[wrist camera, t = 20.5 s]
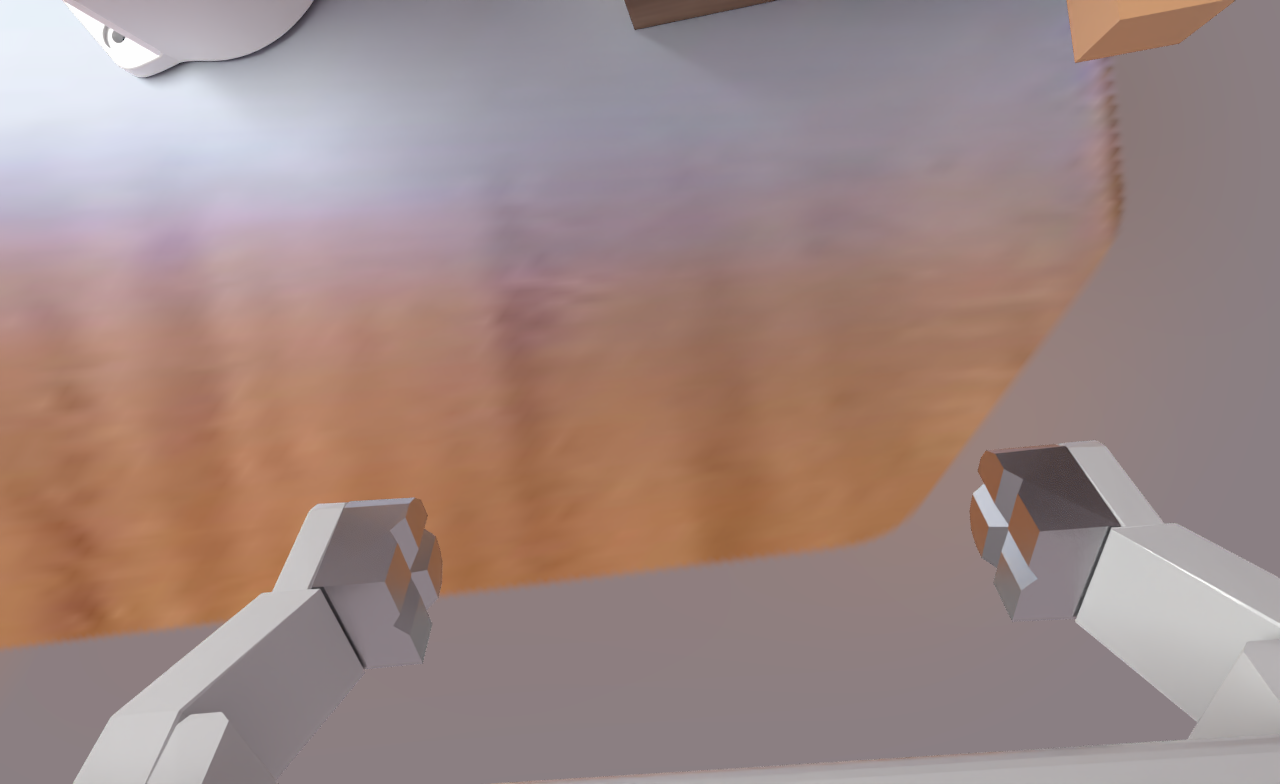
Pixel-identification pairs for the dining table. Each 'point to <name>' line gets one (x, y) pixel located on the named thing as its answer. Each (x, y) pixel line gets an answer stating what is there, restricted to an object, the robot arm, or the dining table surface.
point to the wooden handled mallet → (1134, 24)
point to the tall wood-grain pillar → (678, 9)
